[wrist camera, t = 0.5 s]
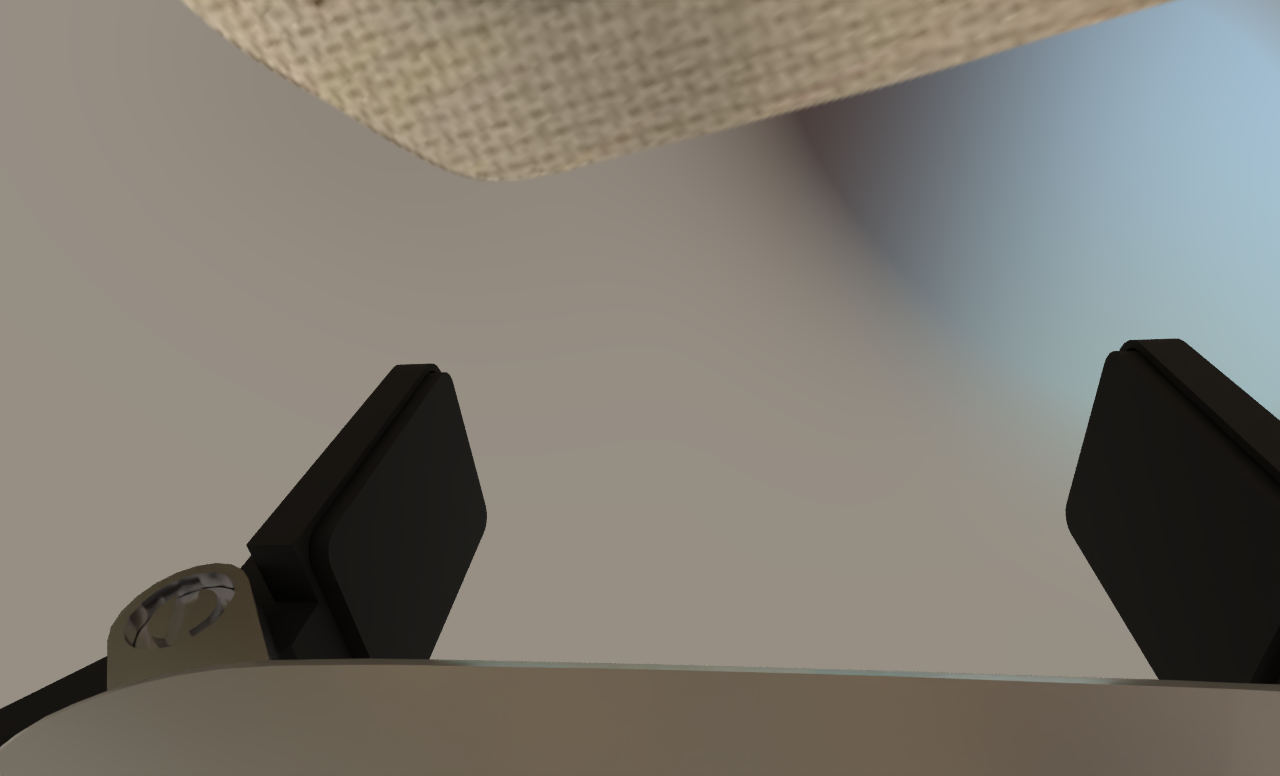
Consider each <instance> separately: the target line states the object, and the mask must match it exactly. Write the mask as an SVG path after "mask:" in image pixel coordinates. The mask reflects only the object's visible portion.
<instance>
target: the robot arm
mask: <svg viewBox="0 0 1280 776" xmlns="http://www.w3.org/2000/svg"><path fill="white" fill-rule="evenodd" d="M486 520H487V512H486V505H485V502H484V498H483V494H482V490H481V486H480V483H479V479H478V475H477V471H476V468H475V464H474V460H473V456H472V452H471V449H470V445H469V441H468V437H467V434H466V430H465V426H464V422H463V419H462V415H461V411H460V407H459V403H458V400H457V396H456V392H455V388H454V385H453V381H452V379H451V377H450V375H449V374H448V373H446V372H445V373H444V372H442V373H441V371H440V370H439V368H438V367H437V366H436V365H435V364H407V365H396V366H395V367H394V368H393V369H392V370H391V371H390V372H389V374H388V375H387V376H386V377H385V378H384V380H383V381H382V382H381V383H380V385H379V386H378V387H377V388H376V389H375V390H374V392H373V393H372V394H371V395H370V396H369V398H368V399H367V400H366V401H365V402H364V404H363V405H362V406H361V407H360V408H359V410H358V411H357V412H356V413H355V414H354V416H353V417H352V418H351V419H350V421H349V422H348V423H347V424H346V425H345V427H344V428H343V429H342V430H341V431H340V433H339V434H338V435H337V436H336V437H335V439H334V440H333V441H332V442H331V443H330V445H329V446H328V447H327V448H326V449H325V451H324V452H323V453H322V454H321V455H320V457H319V458H318V459H317V460H316V461H315V463H314V464H313V465H312V466H311V467H310V469H309V470H308V471H307V472H306V474H305V475H304V476H303V477H302V478H301V480H300V481H299V482H298V483H297V484H296V486H295V487H294V488H293V489H292V490H291V492H290V493H289V494H288V495H287V496H286V498H285V499H284V500H283V501H282V502H281V504H280V505H279V506H278V507H277V509H276V510H275V511H274V512H273V513H272V514H271V516H270V517H269V518H268V520H267V521H266V522H265V523H264V524H263V525H262V527H261V528H260V529H259V530H258V531H257V533H256V534H255V535H254V536H253V537H252V539H251V540H250V541H249V542H248V543H247V547H248V549H249V551H250V553H251V556H250V557H249V559H248V560H247V561H246V563H245V564H244V565H243V566H242V567H241V569H240V568H238V567H236V566H234V565H232V564H221V563H213V564H206V565H201V566H195V567H192V568H190V569H186V570H183V571H180V572H177V573H175V574H173V575H171V576H169V577H167V578H165V579H163V580H161V581H159V582H157V583H156V584H154V585H152V586H151V587H150V588H148V589H147V590H145V591H144V592H142V593H141V594H140V595H138V596H137V597H136V598H135V599H134V600H133V601H132V602H131V603H130V604H129V605H127V606H126V607H125V608H124V609H123V610H122V611H121V613H120V614H119V616H118V617H117V619H116V620H115V622H114V623H113V625H112V626H111V629H110V633H109V637H108V640H107V656H106V657H104V658H102V659H100V660H98V661H96V662H94V663H92V664H90V665H88V666H86V667H84V668H82V669H80V670H78V671H76V672H74V673H72V674H70V675H68V676H66V677H64V678H62V679H60V680H58V681H56V682H54V683H52V684H50V685H48V686H46V687H44V688H42V689H40V690H38V691H36V692H34V693H32V694H30V695H28V696H26V697H24V698H22V699H20V700H18V701H16V702H14V703H12V704H10V705H8V706H6V707H4V708H1V709H0V776H1280V420H1279V419H1277V418H1276V417H1274V415H1272V414H1271V413H1270V412H1269V411H1268V410H1266V409H1265V408H1264V407H1263V406H1262V405H1260V404H1259V403H1258V402H1257V401H1256V400H1254V399H1253V398H1252V397H1251V396H1250V395H1248V394H1247V393H1246V392H1245V391H1244V390H1242V389H1241V388H1240V387H1239V386H1237V385H1236V384H1235V383H1234V382H1233V381H1231V380H1230V379H1229V378H1228V377H1227V376H1225V375H1224V374H1223V373H1222V372H1221V371H1219V370H1218V369H1217V368H1216V367H1215V366H1213V365H1212V364H1211V363H1210V362H1209V361H1207V360H1206V359H1205V358H1203V357H1202V356H1201V355H1200V354H1199V353H1198V352H1196V351H1195V350H1194V349H1193V348H1192V347H1190V346H1189V345H1188V344H1187V343H1185V342H1184V341H1182V340H1180V339H1151V340H1129V341H1127V342H1126V343H1124V344H1123V346H1122V347H1121V349H1120V351H1113V352H1111V353H1110V354H1109V355H1108V357H1107V358H1106V361H1105V363H1104V367H1103V371H1102V374H1101V378H1100V382H1099V385H1098V389H1097V393H1096V397H1095V400H1094V404H1093V408H1092V411H1091V416H1090V419H1089V423H1088V426H1087V430H1086V434H1085V438H1084V442H1083V445H1082V449H1081V453H1080V456H1079V460H1078V464H1077V467H1076V471H1075V474H1074V478H1073V482H1072V486H1071V489H1070V493H1069V497H1068V501H1067V504H1066V521H1067V525H1068V528H1069V530H1070V533H1071V534H1072V536H1073V538H1074V539H1075V541H1076V543H1077V544H1078V546H1079V548H1080V549H1081V551H1082V553H1083V554H1084V556H1085V557H1086V559H1087V561H1088V563H1089V564H1090V566H1091V568H1092V569H1093V571H1094V572H1095V574H1096V576H1097V577H1098V579H1099V581H1100V583H1101V584H1102V586H1103V588H1104V589H1105V591H1106V592H1107V594H1108V596H1109V598H1110V599H1111V601H1112V603H1113V604H1114V606H1115V608H1116V609H1117V611H1118V612H1119V614H1120V616H1121V618H1122V619H1123V621H1124V623H1125V624H1126V626H1127V628H1128V629H1129V631H1130V632H1131V634H1132V636H1133V637H1134V639H1135V641H1136V642H1137V644H1138V646H1139V647H1140V649H1141V651H1142V652H1143V654H1144V656H1145V657H1146V659H1147V661H1148V662H1149V664H1150V666H1151V667H1152V669H1153V671H1154V672H1155V674H1156V676H1157V677H1158V679H1159V680H1152V679H1151V680H1150V679H1121V678H1092V677H1062V676H1032V675H1001V674H972V673H943V672H942V673H939V672H910V671H909V672H907V671H876V670H875V671H874V670H840V669H805V668H771V667H769V668H768V667H734V666H732V667H731V666H697V665H660V664H616V663H615V664H614V663H572V662H527V661H524V662H523V661H481V660H431V659H429V658H430V656H431V654H432V652H433V649H434V647H435V645H436V642H437V640H438V638H439V635H440V633H441V631H442V629H443V626H444V624H445V622H446V619H447V617H448V615H449V612H450V610H451V608H452V605H453V603H454V601H455V598H456V596H457V594H458V591H459V589H460V586H461V584H462V582H463V580H464V577H465V575H466V573H467V570H468V568H469V566H470V563H471V561H472V559H473V556H474V554H475V552H476V550H477V547H478V545H479V543H480V540H481V538H482V536H483V533H484V531H485V527H486Z"/></svg>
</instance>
